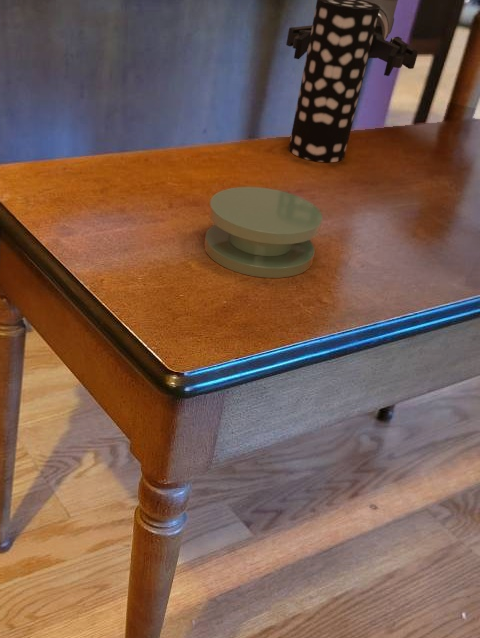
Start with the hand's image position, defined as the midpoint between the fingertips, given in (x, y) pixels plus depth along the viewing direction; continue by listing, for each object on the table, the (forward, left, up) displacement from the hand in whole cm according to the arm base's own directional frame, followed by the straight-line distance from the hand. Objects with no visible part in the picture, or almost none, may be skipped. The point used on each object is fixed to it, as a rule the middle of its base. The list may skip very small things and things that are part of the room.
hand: (342, 57), depth 109 cm
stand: (-8, +45, -12) cm, 47 cm away
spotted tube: (-1, +8, -12) cm, 14 cm away
